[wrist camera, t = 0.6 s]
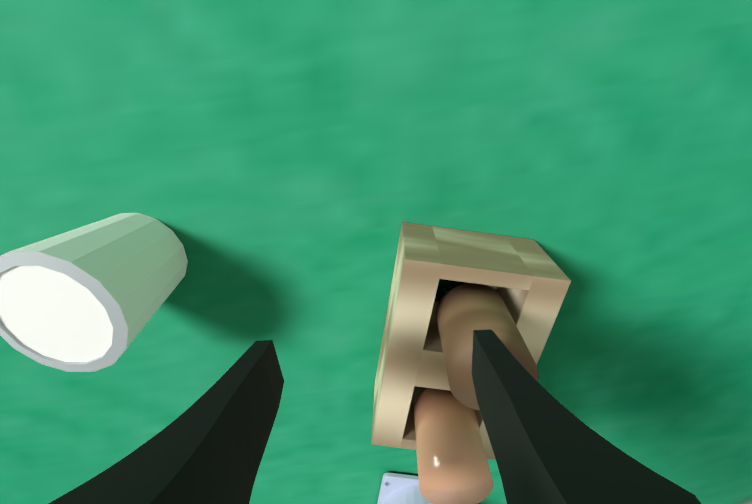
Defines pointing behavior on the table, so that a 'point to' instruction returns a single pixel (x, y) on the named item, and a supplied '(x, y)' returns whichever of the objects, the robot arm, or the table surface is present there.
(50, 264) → the white cup
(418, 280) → the maple block
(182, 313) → the table surface
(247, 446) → the robot arm
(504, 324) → the walnut peg
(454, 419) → the terracotta peg
